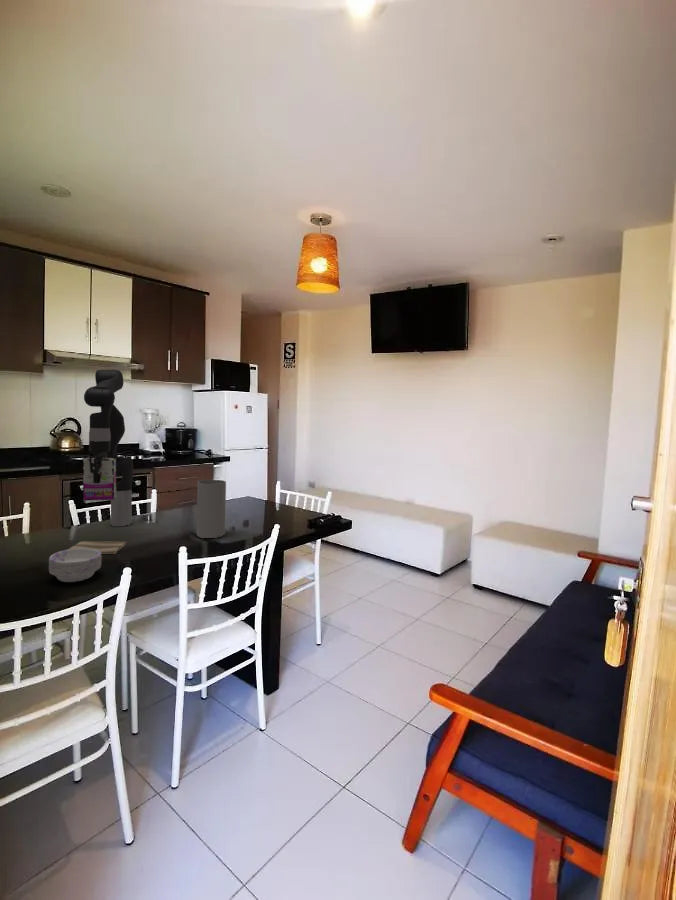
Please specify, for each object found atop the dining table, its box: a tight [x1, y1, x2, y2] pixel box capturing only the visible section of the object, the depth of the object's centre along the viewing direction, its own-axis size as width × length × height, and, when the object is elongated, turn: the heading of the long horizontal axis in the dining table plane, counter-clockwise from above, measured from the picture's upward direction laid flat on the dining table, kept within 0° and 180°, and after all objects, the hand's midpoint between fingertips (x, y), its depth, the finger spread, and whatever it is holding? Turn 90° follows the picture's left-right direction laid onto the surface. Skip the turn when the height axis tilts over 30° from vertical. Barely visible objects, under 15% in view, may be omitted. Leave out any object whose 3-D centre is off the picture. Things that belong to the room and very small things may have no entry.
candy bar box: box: [82, 457, 117, 501], centre depth 178 cm, size 11×5×16 cm, turn 106°
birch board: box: [67, 540, 128, 555], centre depth 180 cm, size 14×18×1 cm
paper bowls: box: [48, 548, 102, 583], centre depth 150 cm, size 15×15×8 cm
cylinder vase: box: [196, 479, 227, 539], centre depth 205 cm, size 12×12×25 cm
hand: (99, 481), depth 178 cm, fingers closed on candy bar box, 5 cm apart
